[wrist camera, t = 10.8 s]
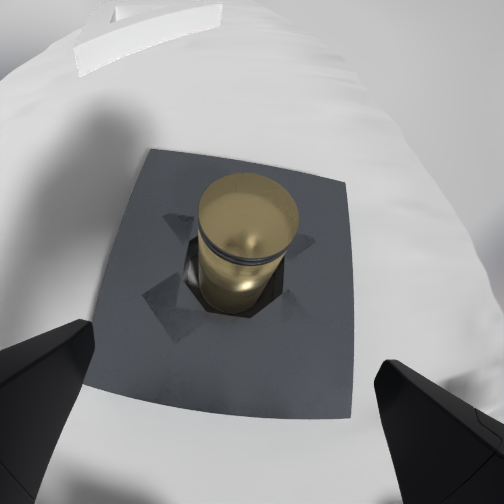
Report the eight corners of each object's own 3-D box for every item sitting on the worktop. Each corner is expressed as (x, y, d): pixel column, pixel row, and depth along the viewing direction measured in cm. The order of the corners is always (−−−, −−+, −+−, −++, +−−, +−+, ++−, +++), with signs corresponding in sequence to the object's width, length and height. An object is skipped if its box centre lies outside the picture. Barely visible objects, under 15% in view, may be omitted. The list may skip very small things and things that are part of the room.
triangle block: (219, 29, 47) (223, 3, 41) (162, 86, 35) (161, 48, 29) (99, 24, 45) (97, 2, 40) (23, 82, 33) (15, 55, 28)
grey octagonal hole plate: (333, 415, 20) (350, 418, 17) (96, 384, 18) (81, 383, 15) (333, 200, 29) (345, 182, 26) (153, 170, 27) (150, 148, 24)
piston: (225, 326, 22) (242, 279, 13) (186, 276, 23) (177, 201, 14) (275, 288, 24) (318, 223, 15) (235, 242, 25) (255, 159, 16)
